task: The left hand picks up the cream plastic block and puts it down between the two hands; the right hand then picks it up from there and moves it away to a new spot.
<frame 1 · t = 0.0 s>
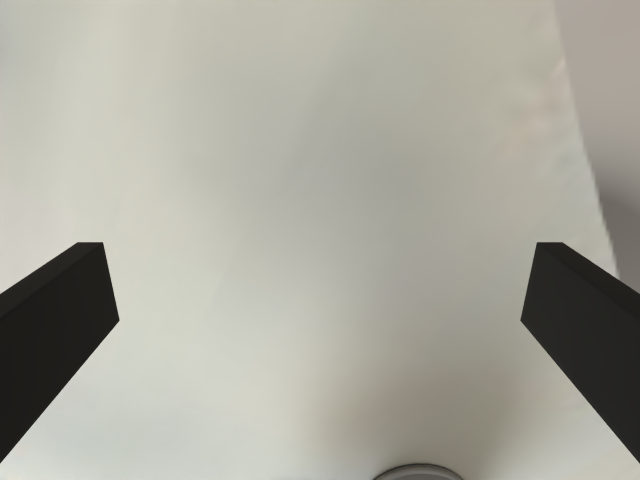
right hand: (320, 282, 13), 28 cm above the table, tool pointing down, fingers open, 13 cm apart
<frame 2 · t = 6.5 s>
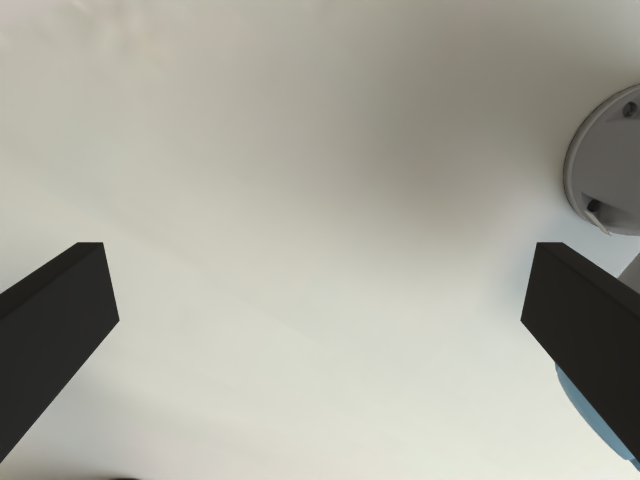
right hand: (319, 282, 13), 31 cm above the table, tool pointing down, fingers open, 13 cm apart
when the left hand's fingers open (3 cm above the table, at t = 18.1 s): block drops 1 cm, on the table.
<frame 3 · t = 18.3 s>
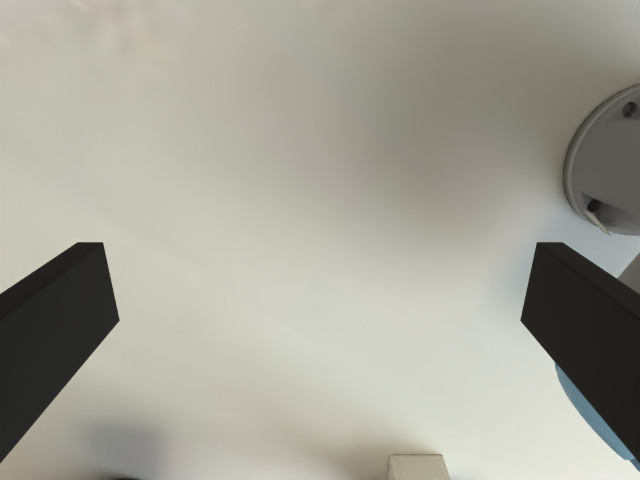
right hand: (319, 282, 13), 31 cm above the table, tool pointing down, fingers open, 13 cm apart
block: (413, 477, 59), on the table
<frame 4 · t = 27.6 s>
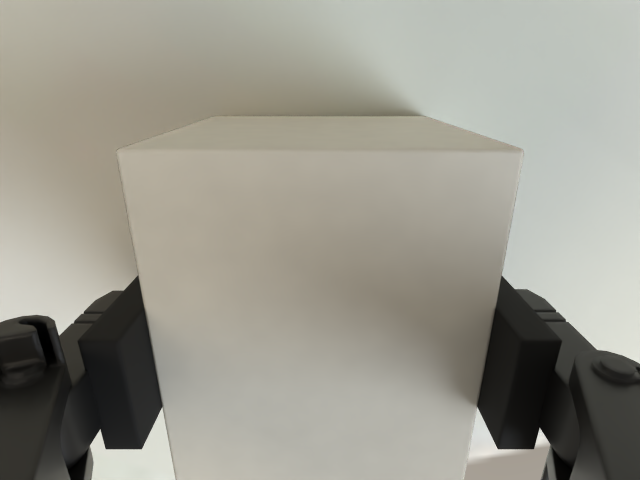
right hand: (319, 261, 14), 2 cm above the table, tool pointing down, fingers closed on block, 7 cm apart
block: (319, 237, 16), on the table, touching right hand
when the right hand's fingers open (3 cm above the table, at t = 37.0 s): block drops 1 cm, on the table.
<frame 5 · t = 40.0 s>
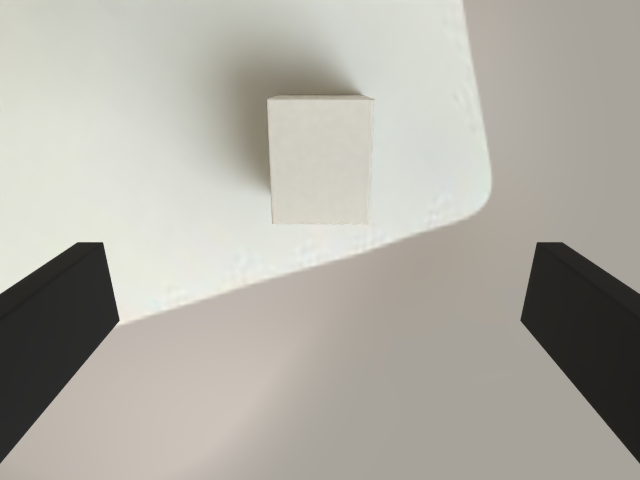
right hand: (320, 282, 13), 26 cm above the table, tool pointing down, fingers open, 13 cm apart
block: (320, 149, 36), on the table
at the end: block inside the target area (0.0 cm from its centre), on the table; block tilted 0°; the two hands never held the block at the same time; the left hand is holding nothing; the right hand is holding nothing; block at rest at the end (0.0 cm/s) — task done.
